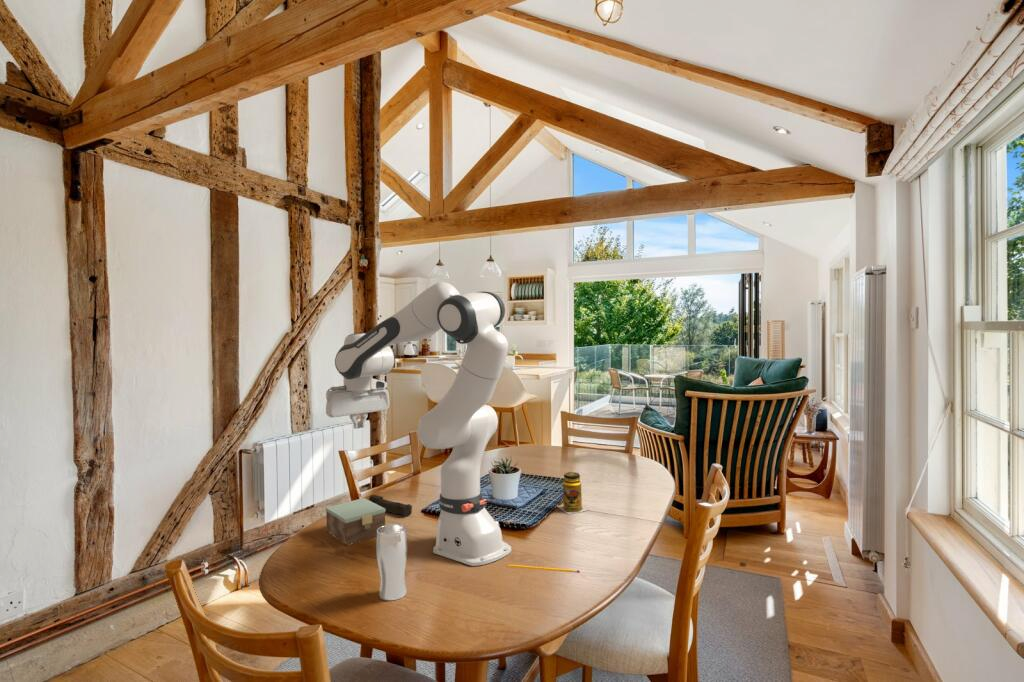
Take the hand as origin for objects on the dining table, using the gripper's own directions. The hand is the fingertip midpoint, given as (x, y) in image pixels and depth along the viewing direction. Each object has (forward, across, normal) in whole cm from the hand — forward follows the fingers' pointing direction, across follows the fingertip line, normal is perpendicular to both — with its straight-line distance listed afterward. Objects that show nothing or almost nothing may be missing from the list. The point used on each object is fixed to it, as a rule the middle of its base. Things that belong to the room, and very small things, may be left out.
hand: (358, 427), depth 159 cm
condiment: (+30, +55, -42) cm, 75 cm away
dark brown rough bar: (+31, +11, +2) cm, 33 cm away
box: (+30, -5, -7) cm, 31 cm away
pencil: (+30, +16, -64) cm, 72 cm away
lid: (+25, -5, -7) cm, 27 cm away
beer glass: (+30, -16, -47) cm, 58 cm away
